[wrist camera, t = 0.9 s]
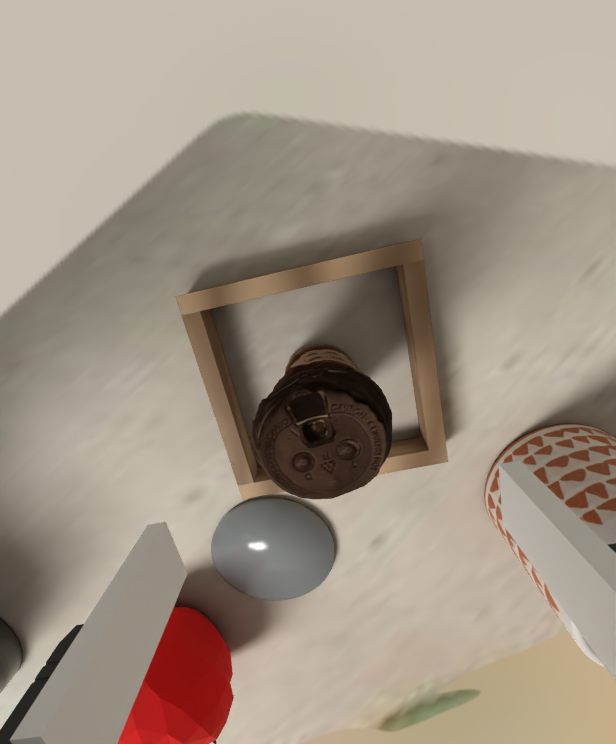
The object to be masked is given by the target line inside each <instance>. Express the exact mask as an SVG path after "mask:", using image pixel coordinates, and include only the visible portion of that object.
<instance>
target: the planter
mask: <svg viewBox="0 0 616 744" xmlns="http://www.w3.org/2000/svg"><path fill="white" fill-rule="evenodd" d="M519 460H520V461H521V462H522V463H523V464H524V465H525V466H526V467H527V468H528V469H529V470H530V471H531V472H532V473H533V474H534V475H535V476H536V477H538V478H539V479H540V480H541V481H542V482H543V483H544V484H545V485H546V486H547V487H548V488H549V489H550V490H551V491H552V492H553V493H554V494H555V495H556V496H557V497H558V498H559V499H560V500H561V501H562V502H563V503H564V504H565V505H566V506H568V507H569V508H570V509H571V510H572V511H573V512H574V513H575V514H576V515H577V516H578V517H579V518H580V519H581V520H582V521H583V522H584V523H585V524H586V525H587V526H588V527H589V528H590V529H591V530H592V531H593V532H594V533H595V534H596V535H598V536H599V537H600V538H601V539H602V540H603V541H604V542H605V543H606V544H607V545H608V544H614V543H616V438H615V437H613V436H611V435H610V434H608V433H606V432H604V431H602V430H600V429H597V428H594V427H591V426H586V425H581V424H559V425H553V426H548V427H545V428H541V429H539V430H536V431H533V432H531V433H529V434H527V435H525V436H523V437H522V438H520V439H519V440H517V441H516V442H514V443H513V444H512V445H510V446H509V447H508V448H507V449H506V450H505V451H504V452H503V453H502V454H501V455H500V456H499V458H498V459H497V460H496V462H495V463H494V465H493V467H492V468H491V470H490V472H489V475H488V477H487V481H486V485H485V493H484V497H485V505H486V509H487V512H488V514H489V516H490V518H491V520H492V521H493V523H494V525H495V526H496V527H497V529H498V530H499V532H500V533H501V535H502V536H503V538H504V539H505V540H506V542H507V543H508V545H509V546H510V548H511V549H512V551H513V552H514V554H515V555H516V556H517V558H518V559H519V561H520V562H521V564H522V565H523V567H524V568H525V569H526V571H527V572H528V574H529V575H530V577H531V578H532V580H533V581H534V583H535V584H536V585H537V587H538V588H539V590H540V591H541V593H542V594H543V596H544V597H545V598H546V600H547V601H548V603H549V604H550V606H551V607H552V609H553V610H554V611H555V613H556V614H557V616H558V617H559V619H560V620H561V622H562V623H563V625H564V626H565V627H566V629H567V630H568V632H569V633H570V635H571V636H572V638H573V639H574V640H575V642H576V643H577V644H578V646H579V647H580V649H581V650H582V651H583V652H584V653H585V654H586V655H587V656H588V657H590V658H591V659H592V660H593V661H595V662H596V663H598V664H599V665H601V666H603V667H605V666H604V665H603V663H602V662H601V661H600V659H599V658H598V656H597V655H596V654H595V652H594V651H593V649H592V648H591V647H590V645H589V644H588V642H587V641H586V640H585V638H584V637H583V635H582V634H581V633H580V631H579V630H578V629H577V627H576V626H575V624H574V623H573V622H572V620H571V619H570V617H569V616H568V615H567V613H566V612H565V610H564V609H563V608H562V606H561V605H560V603H559V602H558V601H557V599H556V598H555V596H554V595H553V594H552V592H551V591H550V589H549V588H548V587H547V585H546V584H545V582H544V581H543V580H542V578H541V577H540V575H539V574H538V573H537V571H536V570H535V568H534V567H533V566H532V564H531V563H530V561H529V560H528V559H527V557H526V556H525V554H524V553H523V552H522V550H521V549H520V547H519V546H518V545H517V543H516V542H515V541H514V539H513V538H512V536H511V535H510V534H509V532H508V531H507V529H506V528H505V527H504V525H503V521H502V506H501V492H500V477H499V464H502V463H508V462H514V461H519Z"/></svg>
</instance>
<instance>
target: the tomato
mask: <svg viewBox="0 0 616 744" xmlns="http://www.w3.org/2000/svg"><path fill="white" fill-rule="evenodd" d="M232 674H233V673H232V664H231V655H230V649H229V648H228V646H227V644H226V643H225V641H224V640H223V638H222V636H221V635H220V633H219V631H218V630H217V629H216V627H215V626H214V625H213V624H212V623H211V622H210V621H209V620H208V619H207V618H206V617H205V616H203V615H202V614H201V613H200V612H199V611H198V610H196V609H192V608H188V607H174V608H173V610H172V613H171V615H170V617H169V620H168V622H167V625H166V627H165V629H164V632H163V634H162V637H161V639H160V641H159V644H158V646H157V649H156V651H155V654H154V656H153V658H152V661H151V663H150V666H149V668H148V670H147V673H146V675H145V678H144V680H143V682H142V685H141V687H140V690H139V692H138V695H137V697H136V699H135V702H134V704H133V707H132V709H131V711H130V714H129V716H128V719H127V721H126V723H125V726H124V728H123V731H122V733H121V735H120V738H119V740H118V743H117V744H209V743H211V742H213V743H214V744H216V739H217V738H218V736H219V734H220V733H221V731H222V729H223V727H224V725H225V724H226V721H227V718H228V715H229V711H230V708H231V705H232V701H233V693H232V689H231V684H230V681H231V678H232Z"/></svg>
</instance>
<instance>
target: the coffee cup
mask: <svg viewBox="0 0 616 744" xmlns="http://www.w3.org/2000/svg"><path fill="white" fill-rule="evenodd" d="M285 371H286V372H285V375H284V377H283V378H281V379H280V380H279V382H278V383H277V384H276V385H275V387H274V389H273V391H272V392H271V393H270V394H269V396H268V397H267V398H266V399H263V400H262V401H261V403H260V404H259V407H258V411H257V413H256V417H255V419H254V421H253V423H252V430H251V445H252V450H253V453H254V456H255V458H256V460H257V461H258V463H259V464H260V465H261V466H262V468H263V470H264V471H265V472H266V473H267V475H268V476H269V478H270V479H271V480H272V481H273V482H274V483H275V484H276V485H277V486H279V487H280V488H281V489H282V490H284V491H286V492H288V493H290V494H293V495H296V496H298V497H301V498H309V499H331V498H335V497H338V496H340V495H343V494H345V493H348V492H351V491H353V490H355V489H358V488H360V487H363V486H365V485H366V484H367V483H368V482H370V481H371V480H372V479H373V478H374V477H375V476H377V474H378V473H379V470H380V468H381V466H382V465H383V463H384V462H385V461H386V459H387V457H388V455H389V452H390V449H391V444H392V412H391V409H390V407H389V404H388V402H387V399H386V397H385V395H384V394H383V392H382V389H381V388H380V387H379V386H378V385H377V384H376V383H375V382H374V381H373V380H371V379H370V377H368V376H366V375H364V374H363V373H362V372H361V371H360V370H359V369H358V368H357V367H356V365H355V364H354V363H353V362H352V360H351V359H350V358H349V357H348V356H347V355H346V354H345V353H344V352H342V351H341V350H340V349H338V348H337V347H334V346H330V345H313V346H309V347H304V348H303V349H302V350H300V351H299V352H296V353H295V354H293V355H292V356H291V358H290V360H289V363H288V365H287V367H286V370H285Z"/></svg>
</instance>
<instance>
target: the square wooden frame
mask: <svg viewBox="0 0 616 744" xmlns="http://www.w3.org/2000/svg"><path fill="white" fill-rule="evenodd" d="M394 266H396V269H397V276H398V282H399V289H400V296H401V303H402V310H403V317H404V324H405V331H406V338H407V345H408V352H409V359H410V366H411V372H412V379H413V386H414V393H415V400H416V407H417V414H418V421H419V428H420V435H421V437H417V438H412V439H406V440H401V441H396V442H392V444H391V449H390V452H389V455H388V457H387V459H386V461H385V462H384V463H383V465H382V466H381V468H380V470H379V473H378V474H377V475H379V474H384V473H390V472H395V471H401V470H406V469H412V468H417V467H423V466H428V465H434V464H439V463H445V462H448V457H447V449H446V440H445V432H444V424H443V416H442V407H441V399H440V391H439V383H438V374H437V366H436V358H435V350H434V342H433V333H432V325H431V317H430V309H429V300H428V292H427V284H426V276H425V268H424V259H423V251H422V243H421V239H417V240H413V241H408V242H404V243H400V244H396V245H391V246H387V247H383V248H379V249H375V250H370V251H366V252H362V253H358V254H353V255H349V256H345V257H341V258H336V259H332V260H328V261H324V262H319V263H315V264H311V265H307V266H303V267H298V268H294V269H290V270H286V271H281V272H277V273H273V274H269V275H264V276H260V277H256V278H252V279H247V280H243V281H239V282H235V283H231V284H226V285H222V286H218V287H214V288H209V289H205V290H201V291H197V292H192V293H188V294H184V295H180V296H175V297H176V300H177V303H178V306H179V309H180V312H181V315H182V318H183V321H184V324H185V327H186V330H187V333H188V336H189V339H190V342H191V345H192V348H193V351H194V354H195V357H196V360H197V363H198V366H199V369H200V372H201V375H202V378H203V381H204V384H205V387H206V390H207V393H208V396H209V399H210V402H211V405H212V408H213V411H214V414H215V417H216V420H217V423H218V426H219V429H220V432H221V435H222V438H223V442H224V445H225V448H226V451H227V454H228V457H229V460H230V463H231V466H232V469H233V472H234V475H235V478H236V481H237V484H238V487H239V490H240V493H241V496H242V499H247V498H252V497H258V496H263V495H269V494H274V493H280V492H285V491H284V490H282V489H281V488H280V487H279V486H277V485H276V484H275V483H274V482H273V481H272V480H271V479H270V478H269V476H268V475H267V473H266V472H265V471H264V470H263V468H262V467H258V466H257V462H256V459H255V456H254V453H253V450H252V446H251V443H250V439H249V436H248V433H247V430H246V426H245V423H244V420H243V417H242V413H241V410H240V407H239V404H238V400H237V397H236V394H235V390H234V387H233V384H232V381H231V377H230V374H229V371H228V368H227V364H226V361H225V358H224V355H223V351H222V348H221V345H220V341H219V338H218V335H217V332H216V328H215V325H214V322H213V319H212V315H211V312H210V309H212V308H216V307H220V306H225V305H229V304H233V303H238V302H242V301H246V300H251V299H255V298H259V297H264V296H268V295H272V294H277V293H281V292H285V291H290V290H294V289H298V288H303V287H307V286H311V285H316V284H320V283H324V282H329V281H333V280H337V279H342V278H346V277H350V276H355V275H359V274H363V273H368V272H372V271H376V270H381V269H385V268H389V267H394Z"/></svg>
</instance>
